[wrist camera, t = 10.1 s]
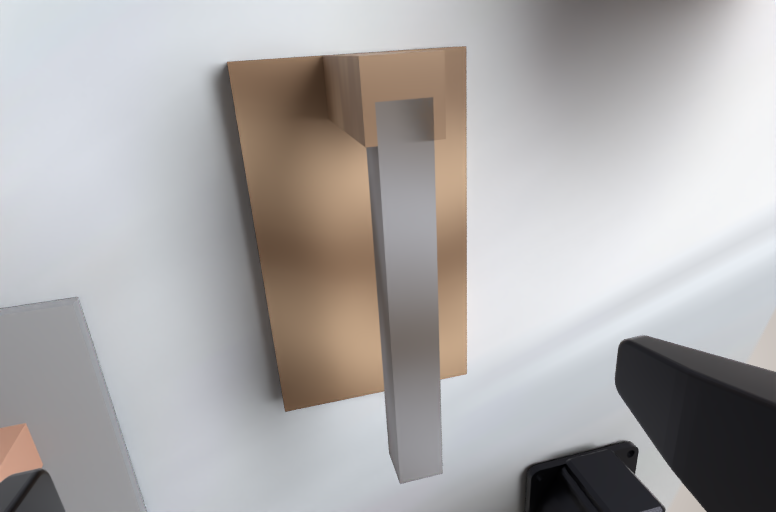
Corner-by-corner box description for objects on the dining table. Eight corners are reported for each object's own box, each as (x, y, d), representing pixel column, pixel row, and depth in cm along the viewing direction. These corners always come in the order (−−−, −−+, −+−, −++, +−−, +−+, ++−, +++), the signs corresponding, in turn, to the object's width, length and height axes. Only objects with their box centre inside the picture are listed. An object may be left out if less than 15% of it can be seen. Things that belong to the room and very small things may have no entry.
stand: (228, 61, 17) (216, 65, 11) (455, 46, 19) (562, 42, 12) (283, 397, 22) (298, 534, 16) (458, 361, 24) (534, 473, 17)
